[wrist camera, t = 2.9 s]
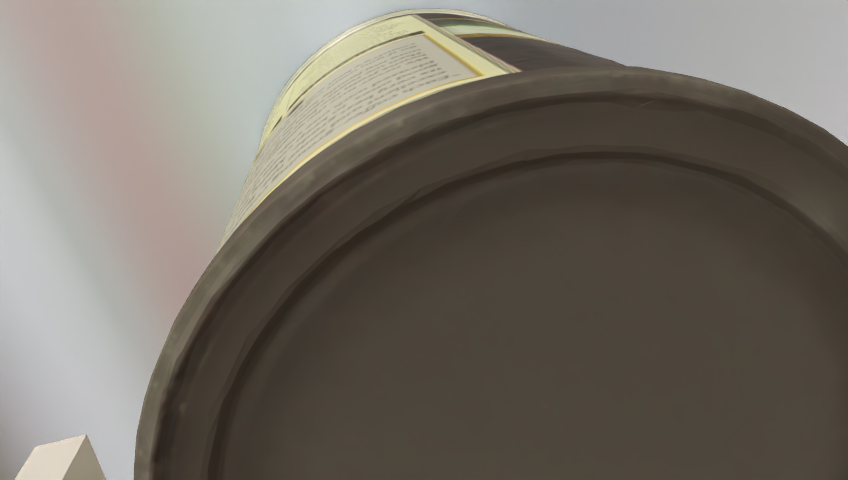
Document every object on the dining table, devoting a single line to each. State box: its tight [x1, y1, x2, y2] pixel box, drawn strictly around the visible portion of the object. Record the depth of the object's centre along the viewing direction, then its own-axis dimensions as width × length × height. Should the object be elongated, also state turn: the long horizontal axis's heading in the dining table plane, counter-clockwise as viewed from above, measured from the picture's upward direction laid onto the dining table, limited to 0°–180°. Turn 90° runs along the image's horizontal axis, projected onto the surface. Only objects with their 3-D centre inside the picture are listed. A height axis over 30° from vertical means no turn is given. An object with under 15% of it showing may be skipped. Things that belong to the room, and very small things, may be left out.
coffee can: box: [134, 9, 848, 480], centre depth 16 cm, size 10×10×14 cm
